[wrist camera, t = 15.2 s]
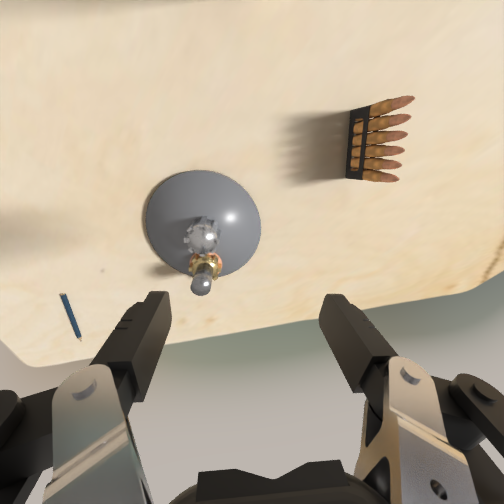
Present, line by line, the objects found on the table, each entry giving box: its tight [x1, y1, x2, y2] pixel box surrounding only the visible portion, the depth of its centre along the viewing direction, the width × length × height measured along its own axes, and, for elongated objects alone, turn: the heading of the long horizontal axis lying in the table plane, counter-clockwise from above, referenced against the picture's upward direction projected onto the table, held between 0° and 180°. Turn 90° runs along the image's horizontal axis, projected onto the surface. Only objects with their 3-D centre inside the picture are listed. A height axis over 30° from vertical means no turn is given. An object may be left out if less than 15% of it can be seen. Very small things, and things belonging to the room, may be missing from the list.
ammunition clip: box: [346, 96, 415, 182], centre depth 30 cm, size 11×2×12 cm, turn 8°
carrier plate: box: [146, 170, 261, 277], centre depth 37 cm, size 22×22×6 cm
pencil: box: [60, 294, 81, 341], centre depth 46 cm, size 1×1×15 cm
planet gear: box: [189, 254, 222, 296], centre depth 38 cm, size 6×6×8 cm
